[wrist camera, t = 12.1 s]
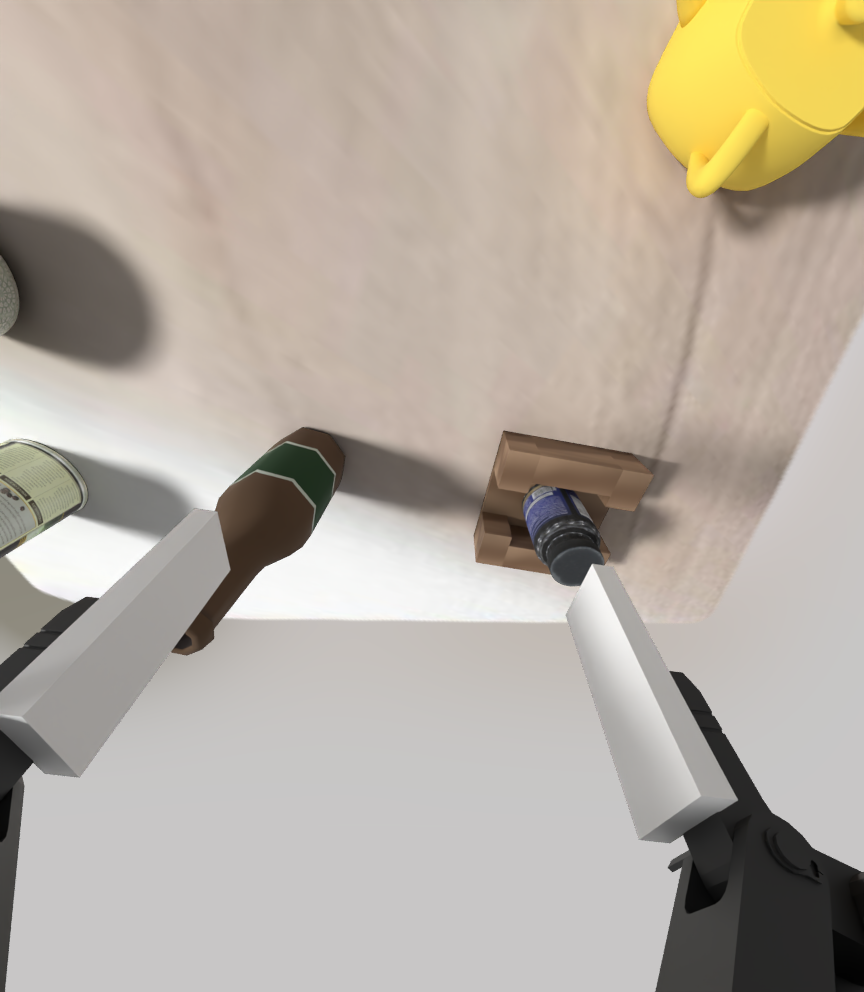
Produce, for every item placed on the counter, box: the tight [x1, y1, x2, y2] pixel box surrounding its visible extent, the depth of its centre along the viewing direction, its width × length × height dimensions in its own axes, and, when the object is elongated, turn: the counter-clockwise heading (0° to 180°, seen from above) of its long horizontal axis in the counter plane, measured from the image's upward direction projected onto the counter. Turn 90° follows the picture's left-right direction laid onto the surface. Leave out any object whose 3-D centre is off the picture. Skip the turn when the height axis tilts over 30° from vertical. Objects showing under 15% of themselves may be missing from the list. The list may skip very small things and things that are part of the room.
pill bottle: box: [522, 484, 605, 586], centre depth 36 cm, size 6×6×11 cm
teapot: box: [647, 0, 864, 198], centre depth 20 cm, size 14×13×10 cm
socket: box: [474, 431, 654, 574], centre depth 40 cm, size 14×14×5 cm
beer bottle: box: [171, 427, 345, 655], centre depth 30 cm, size 8×8×24 cm
